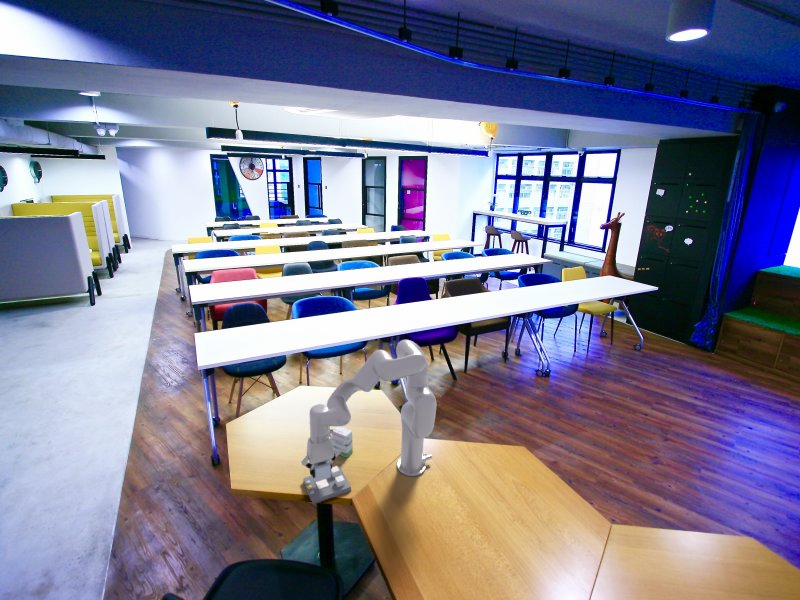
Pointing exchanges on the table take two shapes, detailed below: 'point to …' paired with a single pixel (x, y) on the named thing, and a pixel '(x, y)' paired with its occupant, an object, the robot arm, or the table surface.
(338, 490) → the breaker panel
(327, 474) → the cap
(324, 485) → the button
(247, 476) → the table surface
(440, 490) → the table surface
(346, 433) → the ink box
